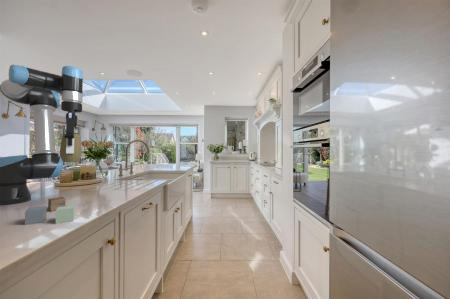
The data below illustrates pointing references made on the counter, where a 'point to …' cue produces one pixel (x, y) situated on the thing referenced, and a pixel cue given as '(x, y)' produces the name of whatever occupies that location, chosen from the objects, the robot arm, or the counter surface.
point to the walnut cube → (56, 203)
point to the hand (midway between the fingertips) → (71, 153)
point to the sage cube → (64, 214)
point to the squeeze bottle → (77, 148)
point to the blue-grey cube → (35, 215)
